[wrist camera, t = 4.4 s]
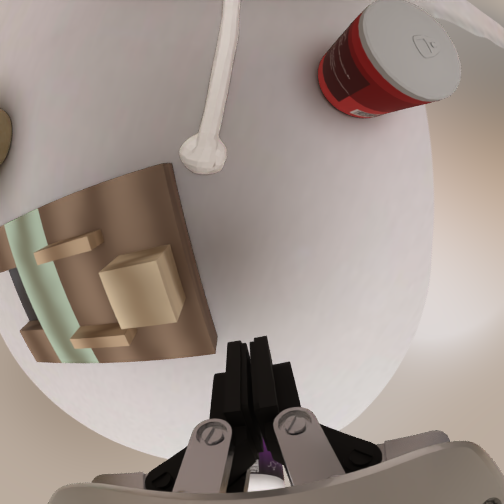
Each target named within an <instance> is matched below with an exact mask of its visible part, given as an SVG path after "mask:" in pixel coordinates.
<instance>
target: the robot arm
mask: <svg viewBox="0 0 504 504" xmlns="http://www.w3.org/2000/svg"><path fill="white" fill-rule="evenodd" d="M250 358H251V359H250ZM263 439H264V442H265V445H266V448H267V451H270V452H271V455H272V458H273V460H275V461H277V462H278V463H280V464H282V465H284V468H285V471H286V473H287V476H288V479H289V482H290V484H291V487H285V488H278V489H270V490H262V491H252V492H248V486H249V480H250V473H251V471H250V467H251V466H252V465H253V464H254V463H256V460H259V453H260V452H264V448H263ZM48 504H504V475H503V474H502V472H501V471H500V469H499V468H498V466H497V465H496V463H495V462H494V461H493V459H492V458H491V457H490V456H489V454H488V453H487V452H486V451H485V450H484V449H483V448H481V447H480V446H479V445H477V444H475V443H473V442H469V441H453V442H450V440H449V438H448V436H447V435H446V434H445V433H444V432H442V431H438V430H435V431H429V432H425V433H421V434H417V435H413V436H408V437H404V438H399V439H394V440H388V441H385V442H384V443H383V444H377V445H375V444H373V443H371V442H368V441H365V440H362V439H359V438H356V437H353V436H351V435H348V434H344V433H342V432H339V431H337V430H334V429H331V428H329V427H326V426H324V425H321V424H319V422H318V420H317V418H316V416H315V415H314V414H313V412H312V411H310V410H309V409H306V408H303V407H301V405H300V401H299V397H298V392H297V388H296V384H295V380H294V376H293V372H292V368H291V364H290V362H285V363H280V364H275V365H273V364H272V359H271V354H270V349H269V344H268V340H267V336H263V337H257V338H254V342H250V356H249V352H248V348H247V344H246V343H241V341H234V342H228V344H227V360H226V372H225V373H217V374H215V375H214V380H213V389H212V399H211V409H210V419H208V420H205V421H203V422H201V423H199V424H198V425H197V426H196V427H195V428H194V430H193V432H192V434H191V437H190V440H189V443H188V446H187V447H185V448H184V449H183V450H181V451H180V452H178V453H177V454H175V455H174V456H173V457H171V458H170V459H168V460H167V461H165V462H164V463H162V464H161V465H159V466H158V467H156V468H155V469H153V470H152V471H151V472H149V473H148V474H144V473H143V472H138V473H124V474H103V475H99V476H97V477H95V478H94V480H93V481H92V483H76V484H70V485H66V486H63V487H61V488H59V489H58V490H57V491H56V492H55V493H54V494H53V495H52V497H51V499H50V501H49V502H48Z"/></svg>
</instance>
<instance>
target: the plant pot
mask: <svg viewBox="0 0 504 504" xmlns="http://www.w3.org/2000/svg"><path fill="white" fill-rule="evenodd" d="M11 136H12V126H11V121H10V118H9V116H8V114H7V113H6V112H4V111H3V110H2V109H1V108H0V165H1V164H2V163H3V161H4V160H5V158H6V156H7V153H8V150H9V147H10V143H11Z"/></svg>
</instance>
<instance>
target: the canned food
mask: <svg viewBox="0 0 504 504" xmlns="http://www.w3.org/2000/svg"><path fill="white" fill-rule="evenodd" d="M460 78H461V65H460V59H459V56H458V52H457V50H456V48H455V45H454V43H453V41H452V40H451V38H450V36H449V35H448V33H447V32H446V31H445V29H444V28H443V27H442V26H441V24H440V23H438V21H436V20H435V18H433V17H432V16H431V15H430V14H429V13H427V12H426V11H425V10H423V9H421V8H420V7H418V6H416V5H414V4H412V3H410V2H407V1H404V0H377V1H375V2H373V3H372V4H371V5H369V6H368V7H367V8H366V9H365V10H364V11H363V12H362V13H361V14H360V15H359V16H358V17H357V18H356V19H355V20H354V21H353V22H352V23H351V24H350V26H349V27H348V28H347V29H346V30H345V31H344V32H343V34H342V35H341V36H340V37H339V38H338V40H337V41H336V42H335V43H334V44H333V45H332V47H331V48H330V49H329V50H328V52H327V53H326V54H325V55H324V56H323V58H322V60H321V62H320V64H319V68H318V80H319V85H320V88H321V90H322V93H323V94H324V96H325V97H326V99H327V100H328V101H329V102H330V103H331V104H332V105H333V106H334V107H335V108H337V109H338V110H340V111H341V112H343V113H345V114H348V115H351V116H354V117H359V118H371V117H375V116H379V115H383V114H386V113H390V112H394V111H398V110H402V109H406V108H410V107H414V106H419V105H423V104H427V103H431V102H435V101H440V100H442V99H445V98H447V97H449V96H450V95H451V94H453V92H455V91H456V89H457V87H458V85H459V82H460Z"/></svg>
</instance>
